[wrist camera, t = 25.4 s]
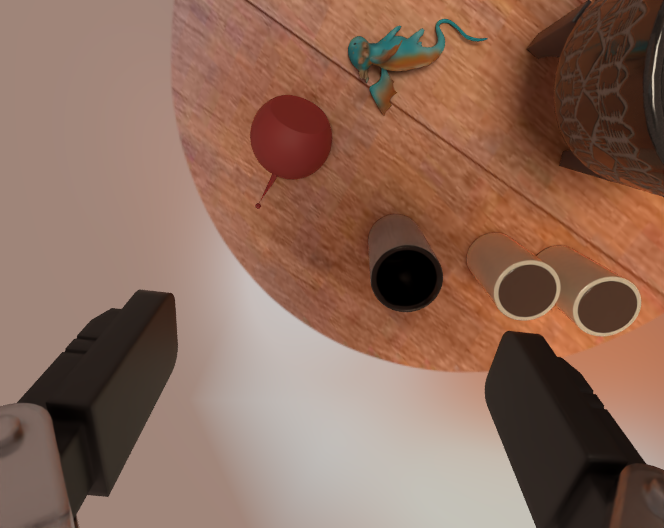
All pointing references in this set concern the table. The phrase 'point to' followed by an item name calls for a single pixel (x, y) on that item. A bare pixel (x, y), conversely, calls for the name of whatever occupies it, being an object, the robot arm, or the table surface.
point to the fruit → (290, 138)
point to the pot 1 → (513, 276)
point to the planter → (610, 89)
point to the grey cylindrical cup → (402, 264)
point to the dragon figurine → (395, 58)
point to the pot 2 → (592, 292)
